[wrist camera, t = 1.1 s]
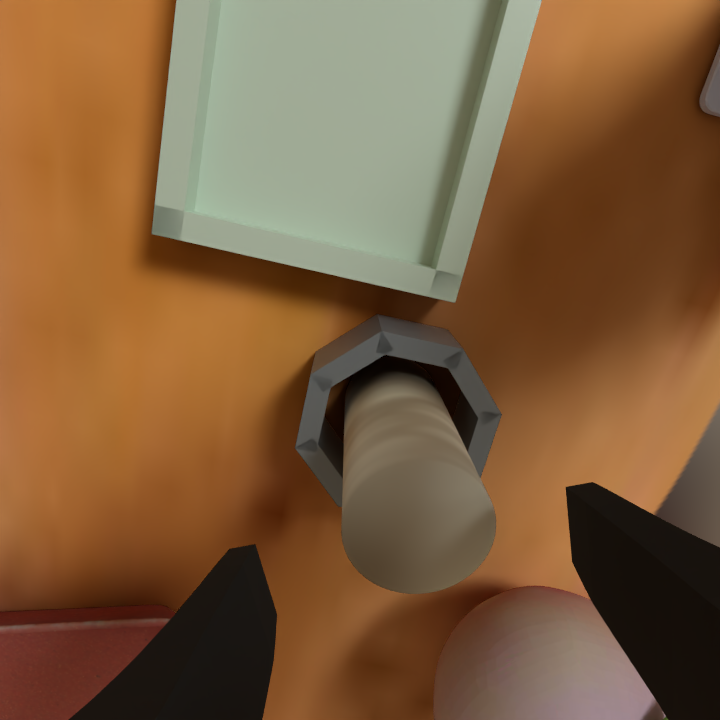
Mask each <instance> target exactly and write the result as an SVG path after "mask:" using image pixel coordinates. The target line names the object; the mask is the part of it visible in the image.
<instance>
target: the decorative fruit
mask: <svg viewBox="0 0 720 720" xmlns="http://www.w3.org/2000/svg"><path fill="white" fill-rule="evenodd" d="M433 705H434V720H668V719H667V717H666V716H665V714H664V712H663V711H662V709H661V707H660V706H659V704H658V703H657V701H656V699H655V698H654V696H653V695H652V693H651V692H650V690H649V689H648V687H647V686H646V684H645V683H644V681H643V680H642V678H641V677H640V675H639V674H638V672H637V671H636V669H635V668H634V666H633V665H632V663H631V661H630V660H629V658H628V657H627V655H626V654H625V652H624V651H623V649H622V648H621V646H620V645H619V643H618V642H617V640H616V639H615V637H614V636H613V634H612V633H611V631H610V629H609V628H608V626H607V625H606V623H605V622H604V620H603V619H602V617H601V616H600V614H599V612H598V611H597V609H596V608H595V606H594V605H593V603H592V601H591V600H589V599H587V598H585V597H582V596H580V595H577V594H574V593H571V592H568V591H564V590H560V589H556V588H551V587H545V586H526V587H519V588H514V589H511V590H508V591H505V592H502V593H500V594H498V595H496V596H494V597H492V598H490V599H488V600H486V601H484V602H482V603H481V604H479V605H478V606H476V607H475V608H474V609H472V610H471V611H470V612H469V613H468V614H467V615H466V616H465V617H464V618H463V619H462V620H461V621H460V622H459V623H458V624H457V626H456V627H455V628H454V630H453V631H452V633H451V634H450V636H449V638H448V640H447V641H446V643H445V645H444V647H443V649H442V652H441V654H440V657H439V661H438V664H437V668H436V674H435V681H434V696H433Z"/></svg>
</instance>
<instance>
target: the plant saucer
mask: <svg viewBox="0 0 720 720" xmlns="http://www.w3.org/2000/svg"><path fill="white" fill-rule="evenodd" d="M175 614H176V613H175V612H174V611H172V610H171V609H169V608H168V607H166V606H162V605H134V606H116V607H96V608H77V609H52V610H30V611H10V612H0V720H68V719H70V718H71V717H72V716H73V715H74V714H75V713H77V712H78V711H79V710H80V709H81V708H83V707H84V706H85V705H86V704H87V703H88V702H89V701H91V700H92V699H93V698H94V697H95V696H96V695H97V694H98V693H99V692H100V691H101V690H102V689H104V688H105V687H106V686H107V685H108V684H109V683H110V682H111V681H112V680H113V679H114V678H115V677H116V676H117V675H118V674H119V673H120V672H121V671H122V670H123V669H124V668H125V667H126V666H127V665H128V664H129V663H130V662H131V661H132V660H133V659H134V658H135V657H136V656H137V655H138V654H139V653H140V652H141V651H142V650H143V649H144V648H145V647H146V646H147V644H148V643H149V642H150V641H151V640H152V639H153V638H154V637H155V636H156V635H157V633H158V632H159V631H160V630H161V629H162V628H163V627H164V626H165V625H166V624H167V623H168V621H169V620H170V619H171V618H172V617H173V616H174V615H175Z"/></svg>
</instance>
